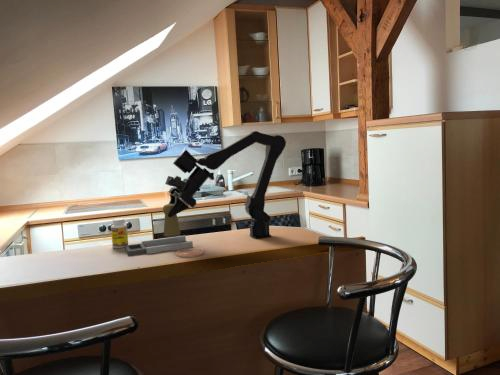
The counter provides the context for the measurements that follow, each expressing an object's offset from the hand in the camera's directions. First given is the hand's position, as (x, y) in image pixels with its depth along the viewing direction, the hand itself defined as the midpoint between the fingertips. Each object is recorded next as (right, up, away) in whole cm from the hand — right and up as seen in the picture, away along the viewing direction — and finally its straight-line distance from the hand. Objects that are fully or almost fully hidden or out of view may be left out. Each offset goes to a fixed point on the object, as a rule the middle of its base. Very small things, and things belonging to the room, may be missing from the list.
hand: (166, 215), depth 148 cm
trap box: (-10, -12, -3) cm, 16 cm away
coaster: (+10, -12, -9) cm, 18 cm away
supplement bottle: (-18, -12, +4) cm, 22 cm away
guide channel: (0, -11, +1) cm, 11 cm away
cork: (+2, -7, +1) cm, 7 cm away
